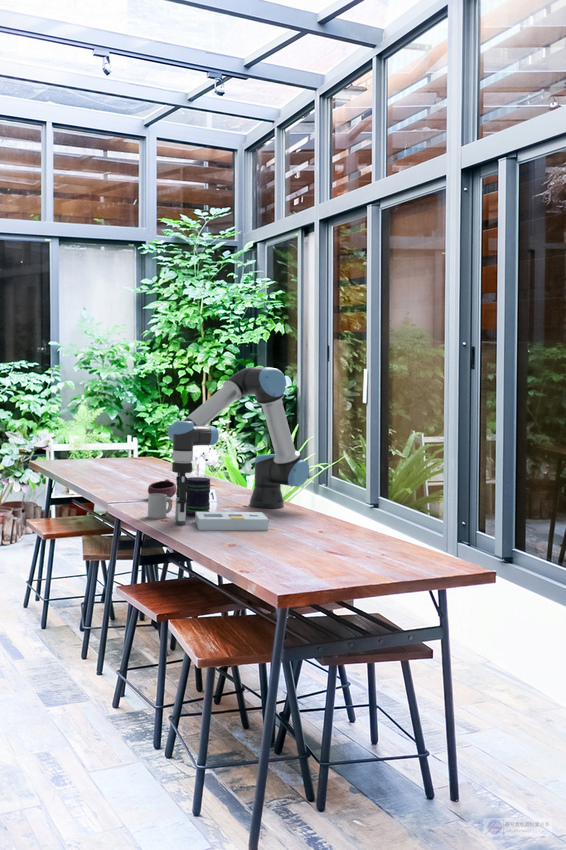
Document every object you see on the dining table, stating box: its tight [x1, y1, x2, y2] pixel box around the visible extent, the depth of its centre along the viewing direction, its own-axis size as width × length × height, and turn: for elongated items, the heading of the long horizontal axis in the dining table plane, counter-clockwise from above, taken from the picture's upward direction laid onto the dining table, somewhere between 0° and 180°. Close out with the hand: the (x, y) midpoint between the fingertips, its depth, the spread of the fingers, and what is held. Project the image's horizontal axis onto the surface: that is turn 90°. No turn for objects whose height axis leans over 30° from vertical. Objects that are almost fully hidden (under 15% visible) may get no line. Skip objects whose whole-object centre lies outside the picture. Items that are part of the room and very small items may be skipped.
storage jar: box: [186, 476, 211, 518], centre depth 329 cm, size 10×10×15 cm
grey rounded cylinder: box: [174, 497, 187, 526], centre depth 308 cm, size 4×4×10 cm
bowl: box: [147, 478, 177, 499], centre depth 369 cm, size 16×13×8 cm
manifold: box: [194, 511, 270, 531], centre depth 308 cm, size 16×26×4 cm, turn 101°
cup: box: [147, 493, 173, 520], centre depth 322 cm, size 7×10×9 cm
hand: (180, 517), depth 308 cm, fingers open, 13 cm apart
